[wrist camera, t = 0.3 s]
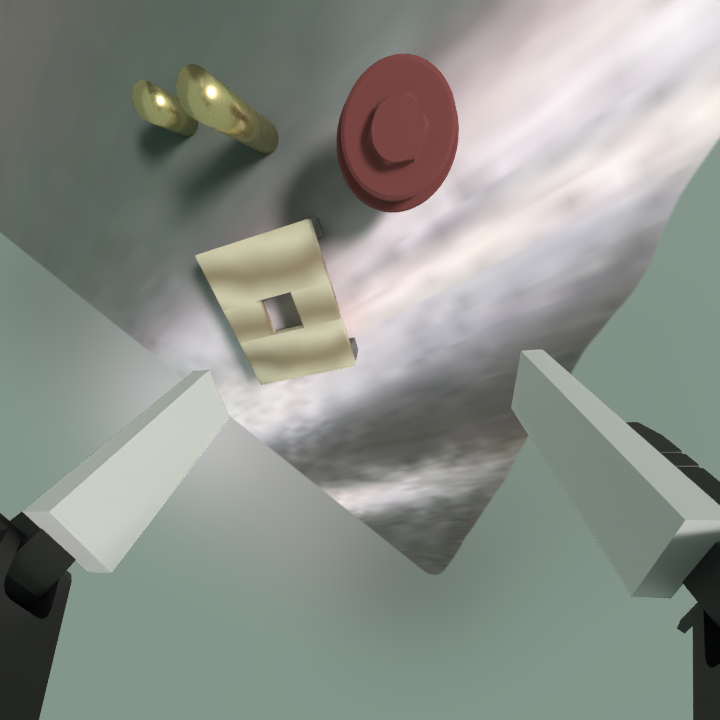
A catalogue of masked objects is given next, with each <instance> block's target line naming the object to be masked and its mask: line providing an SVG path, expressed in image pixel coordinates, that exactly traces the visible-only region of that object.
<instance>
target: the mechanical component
mask: <svg viewBox="0 0 720 720" xmlns="http://www.w3.org/2000/svg"><path fill="white" fill-rule="evenodd" d="M458 131H459V126H458V116H457V111H456V107H455V102H454V98H453V94H452V92H451V89H450V87H449V85H448V83H447V81H446V79H445V78H444V76H443V75H442V73H441V72H440V71H439V70H438V69H437V68H436V67H435V66H434V65H433V64H431V63H430V62H429V61H427V60H426V59H423V58H421V57H419V56H416V55H411V54H396V55H391V56H388V57H385V58H383V59H381V60H379V61H377V62H376V63H374V64H373V65H372V66H370V67H369V68H368V69H367V70H366V71H365V72H364V73H363V74H362V75H361V76H360V78H359V79H358V80H357V82H356V83H355V84H354V86H353V88H352V90H351V92H350V94H349V96H348V98H347V100H346V102H345V104H344V107H343V110H342V113H341V116H340V119H339V124H338V130H337V154H338V160H339V164H340V168H341V171H342V174H343V176H344V179H345V180H346V182H347V184H348V186H349V188H350V189H351V190H352V192H353V193H354V194H355V195H356V196H357V197H358V198H359V199H360V200H361V201H362V202H364V203H365V204H366V205H368V206H370V207H372V208H374V209H376V210H380V211H383V212H402V211H406V210H409V209H412V208H414V207H416V206H418V205H420V204H422V203H423V202H425V201H426V200H427V199H428V198H430V197H431V196H432V195H433V194H434V193H435V192H436V191H437V190H438V188H439V187H440V186H441V184H442V183H443V181H444V180H445V178H446V177H447V175H448V173H449V171H450V169H451V166H452V164H453V161H454V158H455V154H456V150H457V144H458Z"/></svg>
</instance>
